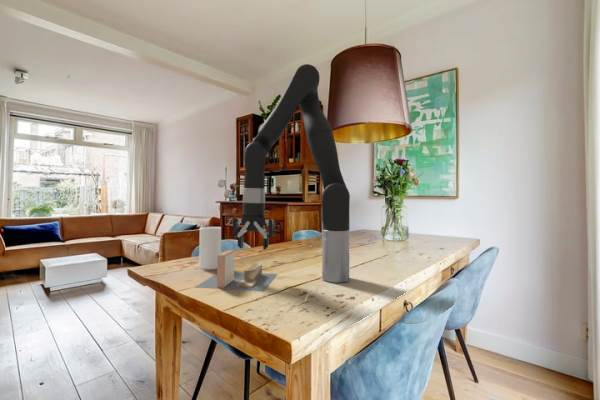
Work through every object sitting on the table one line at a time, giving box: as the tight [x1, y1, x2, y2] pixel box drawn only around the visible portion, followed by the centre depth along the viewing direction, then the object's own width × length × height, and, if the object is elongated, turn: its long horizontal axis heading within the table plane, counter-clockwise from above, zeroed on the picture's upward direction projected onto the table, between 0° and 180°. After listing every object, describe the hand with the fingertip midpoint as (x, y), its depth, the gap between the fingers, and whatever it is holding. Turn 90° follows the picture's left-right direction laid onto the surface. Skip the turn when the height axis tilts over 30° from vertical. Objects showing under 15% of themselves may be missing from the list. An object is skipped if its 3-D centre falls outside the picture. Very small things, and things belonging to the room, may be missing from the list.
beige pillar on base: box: [236, 262, 263, 288], centre depth 94 cm, size 5×14×4 cm, turn 172°
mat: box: [194, 271, 278, 292], centre depth 94 cm, size 22×19×1 cm
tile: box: [216, 250, 235, 288], centre depth 90 cm, size 2×8×10 cm, turn 172°
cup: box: [198, 226, 222, 270], centre depth 112 cm, size 8×8×16 cm
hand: (252, 248), depth 96 cm, fingers open, 8 cm apart
